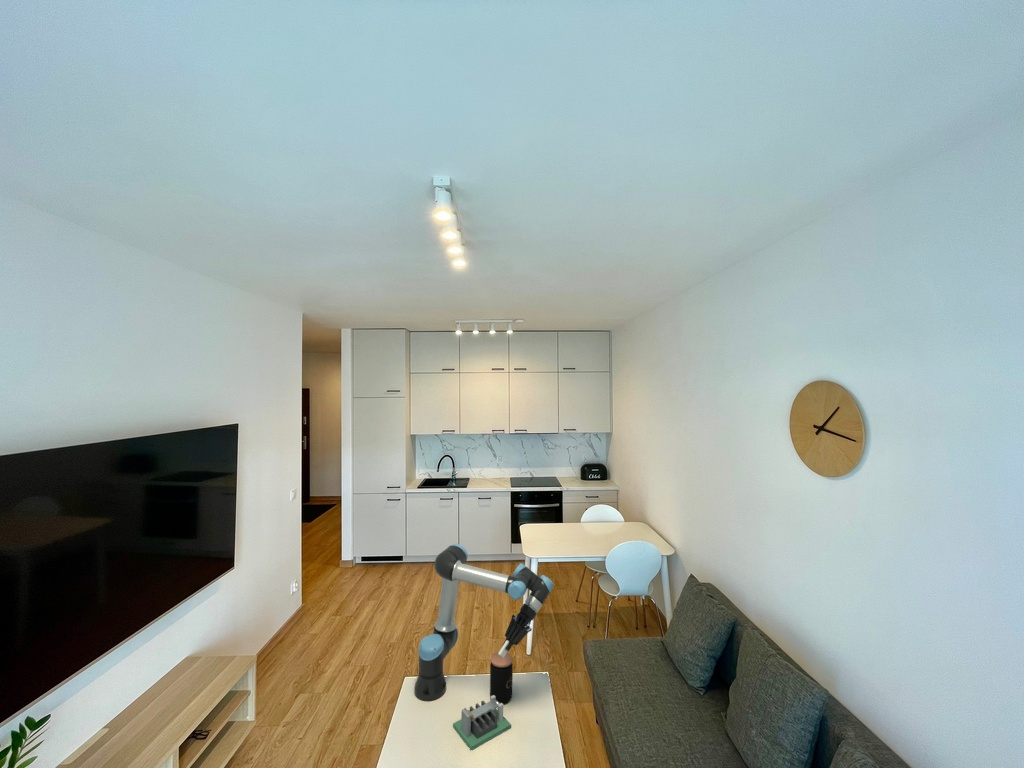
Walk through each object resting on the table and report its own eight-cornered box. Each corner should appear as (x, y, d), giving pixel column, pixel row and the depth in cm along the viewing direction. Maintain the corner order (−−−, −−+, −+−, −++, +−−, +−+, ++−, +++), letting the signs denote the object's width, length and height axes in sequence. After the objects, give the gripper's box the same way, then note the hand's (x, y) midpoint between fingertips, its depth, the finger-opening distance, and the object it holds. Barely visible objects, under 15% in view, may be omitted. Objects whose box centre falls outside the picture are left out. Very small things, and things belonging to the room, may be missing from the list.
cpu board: (452, 727, 176) (453, 704, 177) (491, 707, 188) (492, 685, 189) (470, 750, 164) (471, 726, 165) (511, 728, 176) (511, 705, 176)
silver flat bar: (466, 716, 174) (466, 711, 174) (495, 701, 183) (495, 695, 183) (471, 722, 171) (471, 716, 171) (500, 706, 180) (500, 701, 180)
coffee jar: (509, 707, 188) (510, 667, 189) (487, 703, 190) (487, 663, 191) (514, 691, 198) (514, 653, 199) (492, 688, 200) (493, 650, 201)
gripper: (543, 618, 191) (513, 667, 181) (526, 606, 202) (497, 652, 191) (535, 609, 188) (504, 659, 178) (518, 598, 199) (488, 644, 188)
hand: (500, 655), depth 184 cm, fingers closed
